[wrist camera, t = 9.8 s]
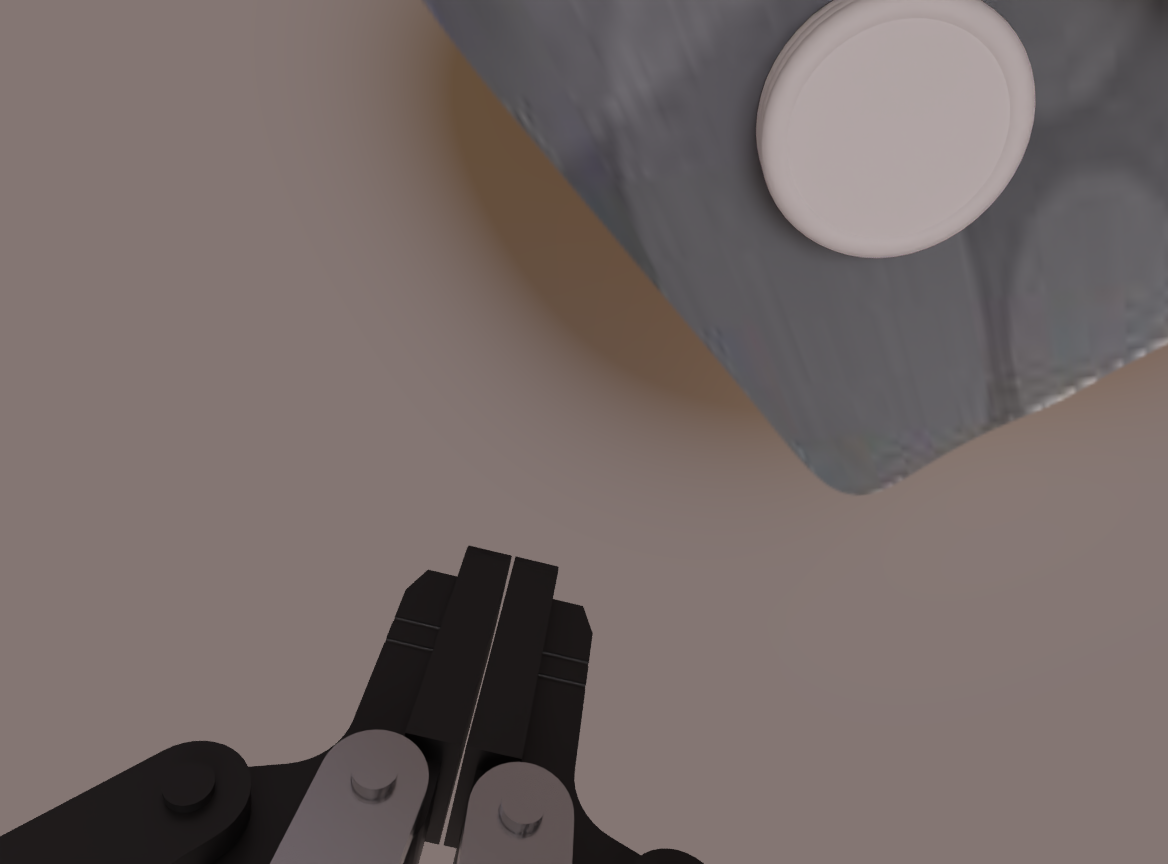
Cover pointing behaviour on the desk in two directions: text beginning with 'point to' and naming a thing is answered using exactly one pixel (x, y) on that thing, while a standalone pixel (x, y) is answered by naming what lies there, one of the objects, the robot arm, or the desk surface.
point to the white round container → (894, 122)
